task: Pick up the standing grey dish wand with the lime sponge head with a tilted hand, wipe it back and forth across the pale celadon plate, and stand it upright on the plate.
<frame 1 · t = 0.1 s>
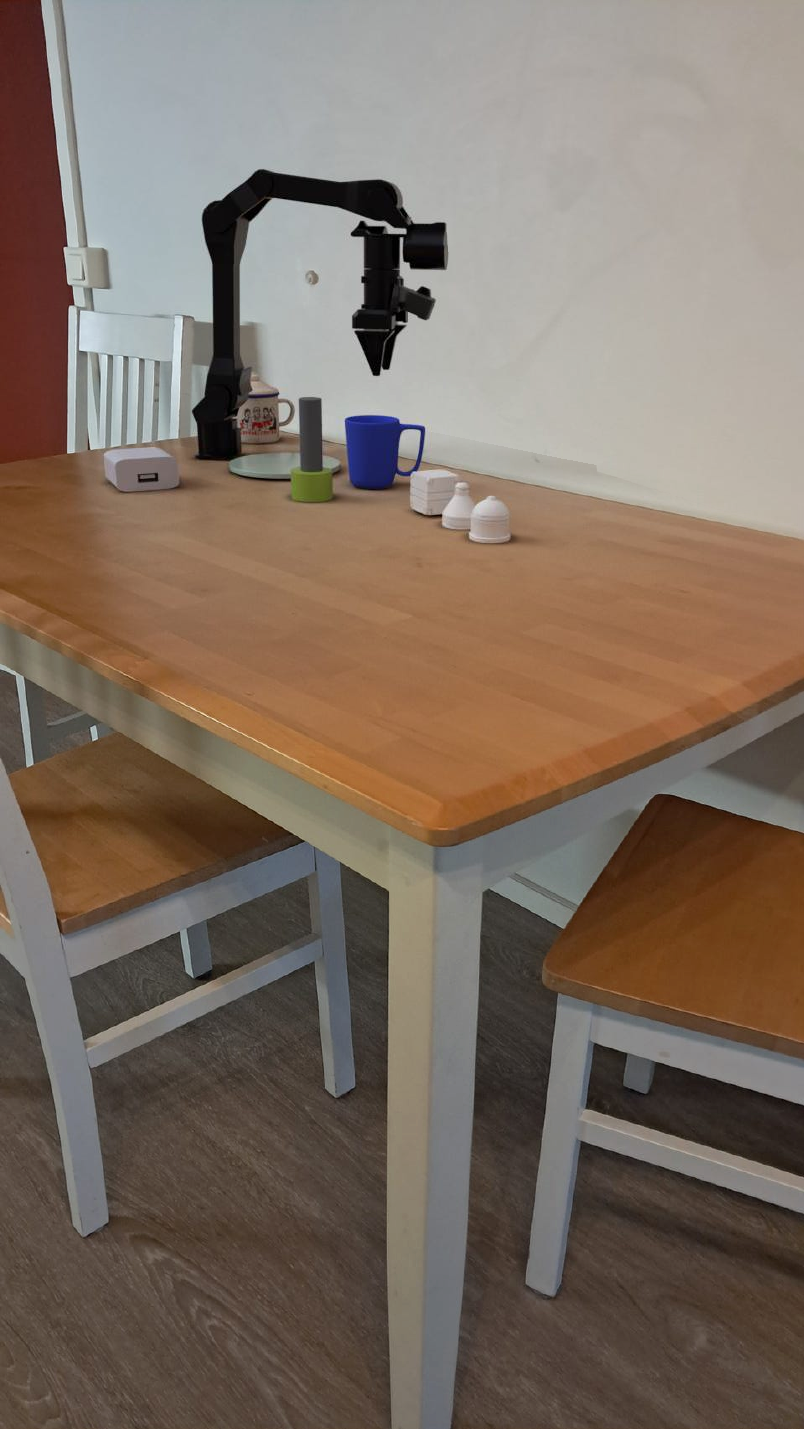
hand: (381, 372, 174), 15 cm above the table, tool pointing down, fingers open, 9 cm apart
container set: (460, 526, 141), on the table
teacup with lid: (264, 440, 200), on the table
plate: (284, 470, 174), on the table
sponge wand: (312, 497, 155), on the table
mug: (384, 487, 163), on the table
charger: (138, 482, 165), on the table
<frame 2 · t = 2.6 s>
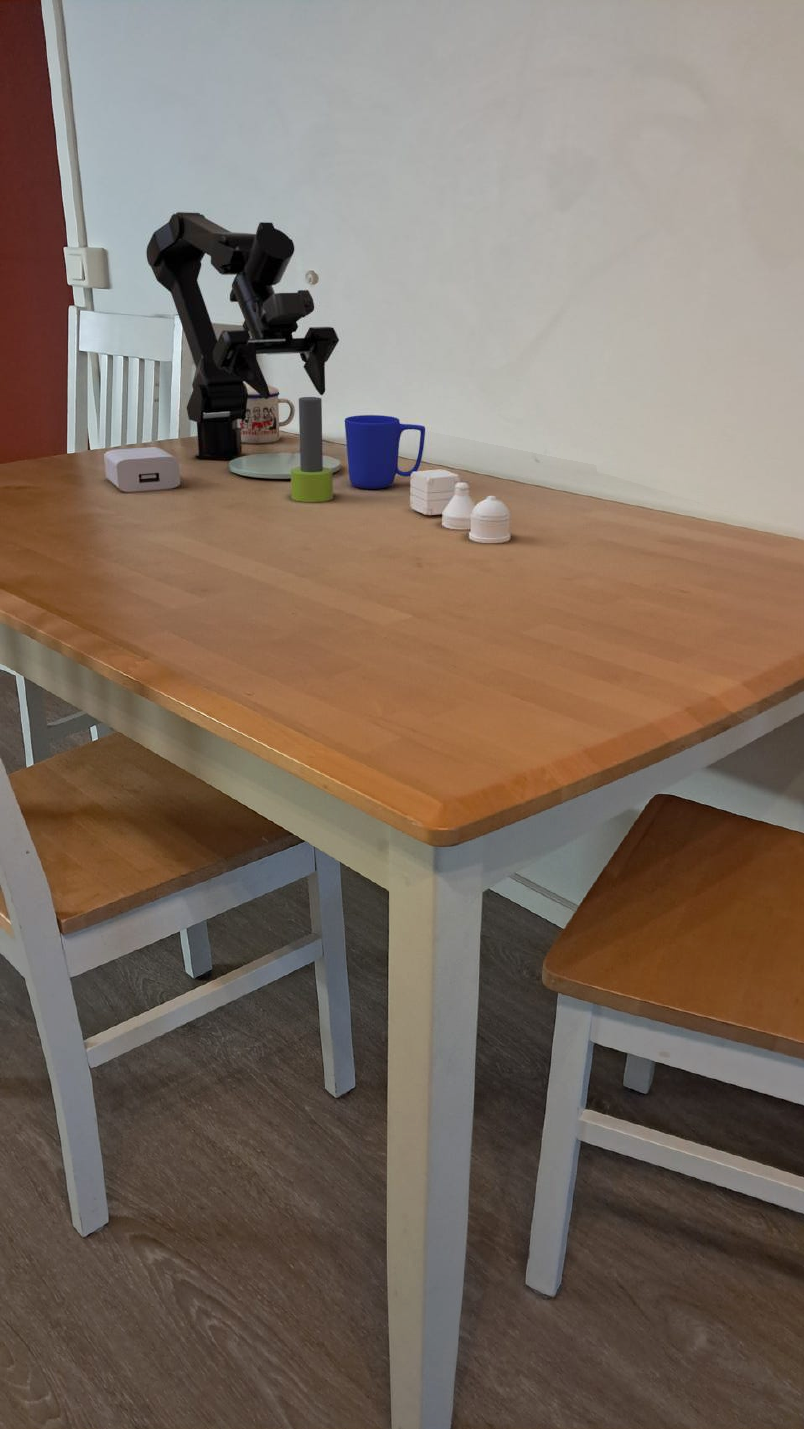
hand: (295, 395, 157), 13 cm above the table, tool tilted 40°, fingers open, 9 cm apart
nothing on the table moved.
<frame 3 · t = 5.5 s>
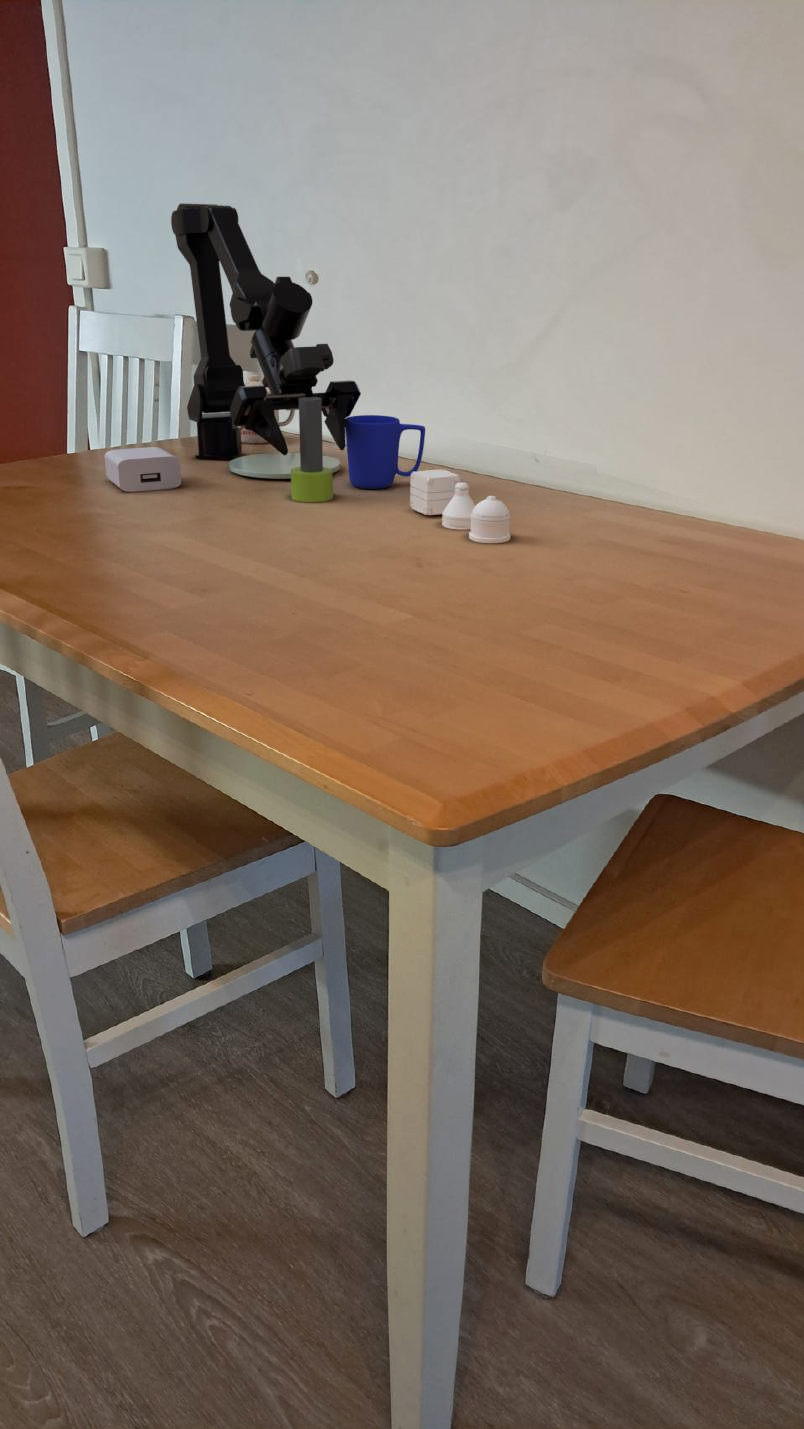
hand: (315, 450, 151), 7 cm above the table, tool tilted 45°, fingers open, 9 cm apart
mug: (384, 487, 163), on the table, touching gripper
everything else where it was.
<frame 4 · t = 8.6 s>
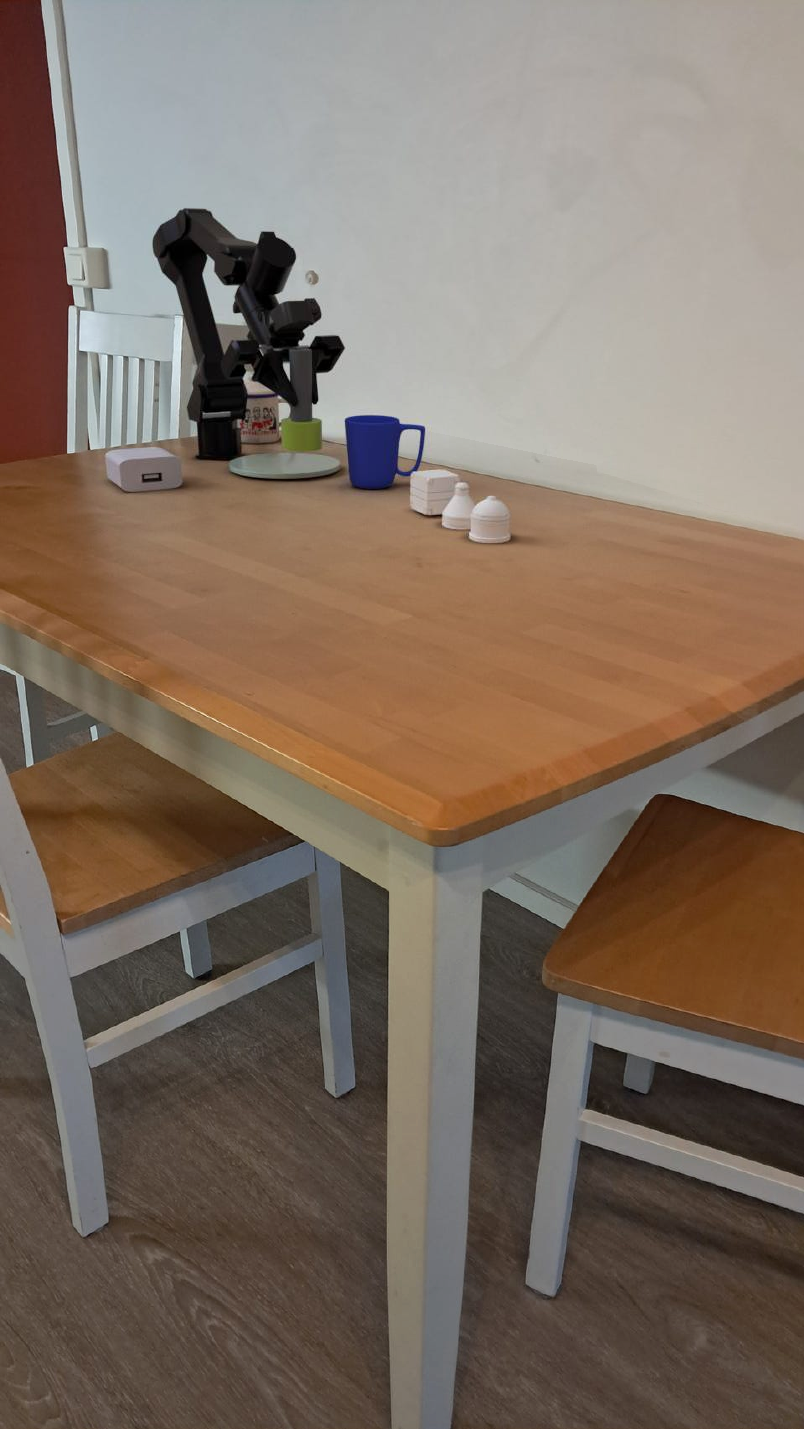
hand: (306, 403, 156), 12 cm above the table, tool tilted 45°, fingers closed on sponge wand, 3 cm apart
sponge wand: (301, 447, 159), point 6 cm above the table, touching gripper
mug: (384, 487, 163), on the table
everything else where it was.
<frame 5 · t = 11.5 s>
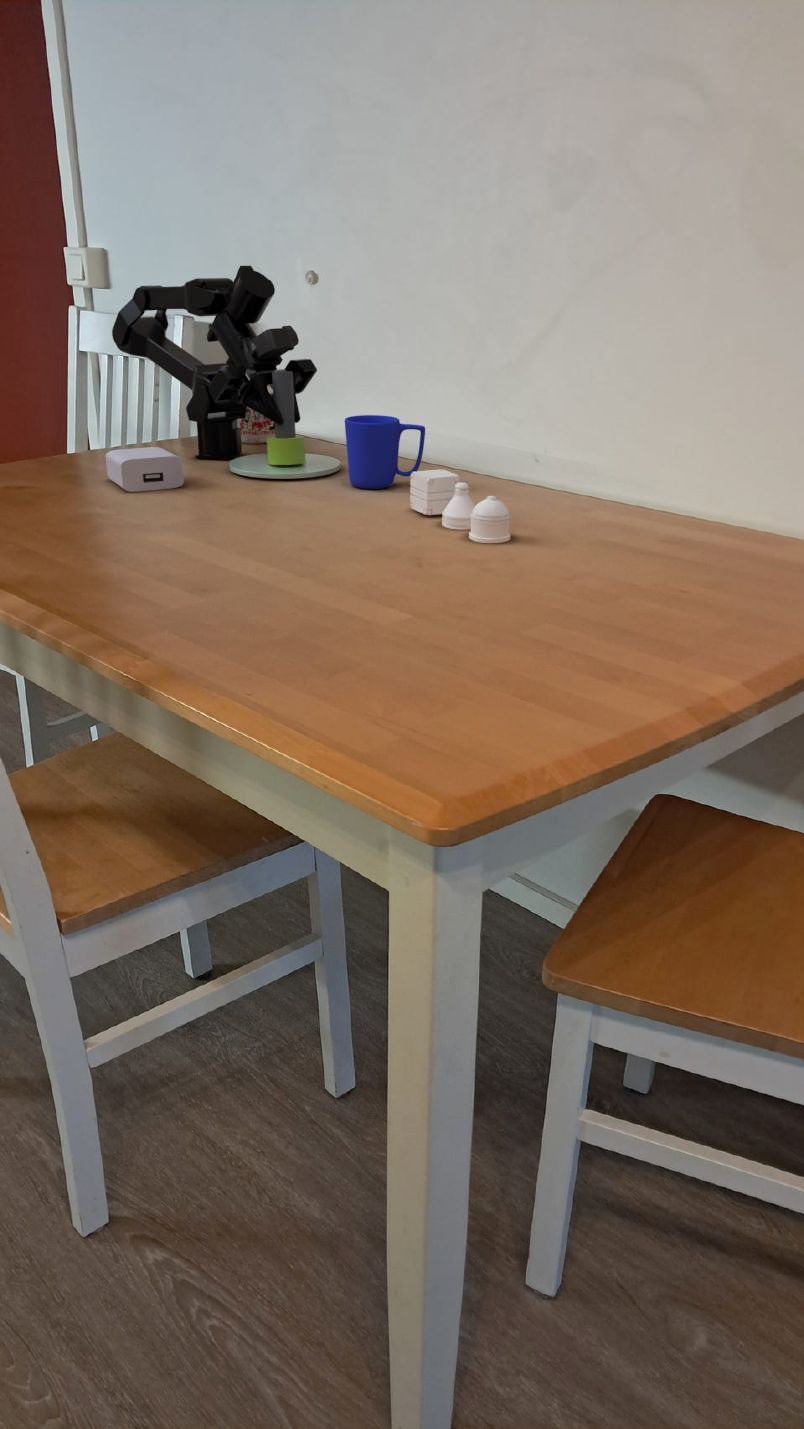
hand: (290, 422, 168), 8 cm above the table, tool tilted 45°, fingers closed on sponge wand, 3 cm apart
plate: (284, 470, 174), on the table, touching sponge wand
sponge wand: (287, 462, 171), point 1 cm above the table, tilted 5°, touching gripper, plate
everything else where it was.
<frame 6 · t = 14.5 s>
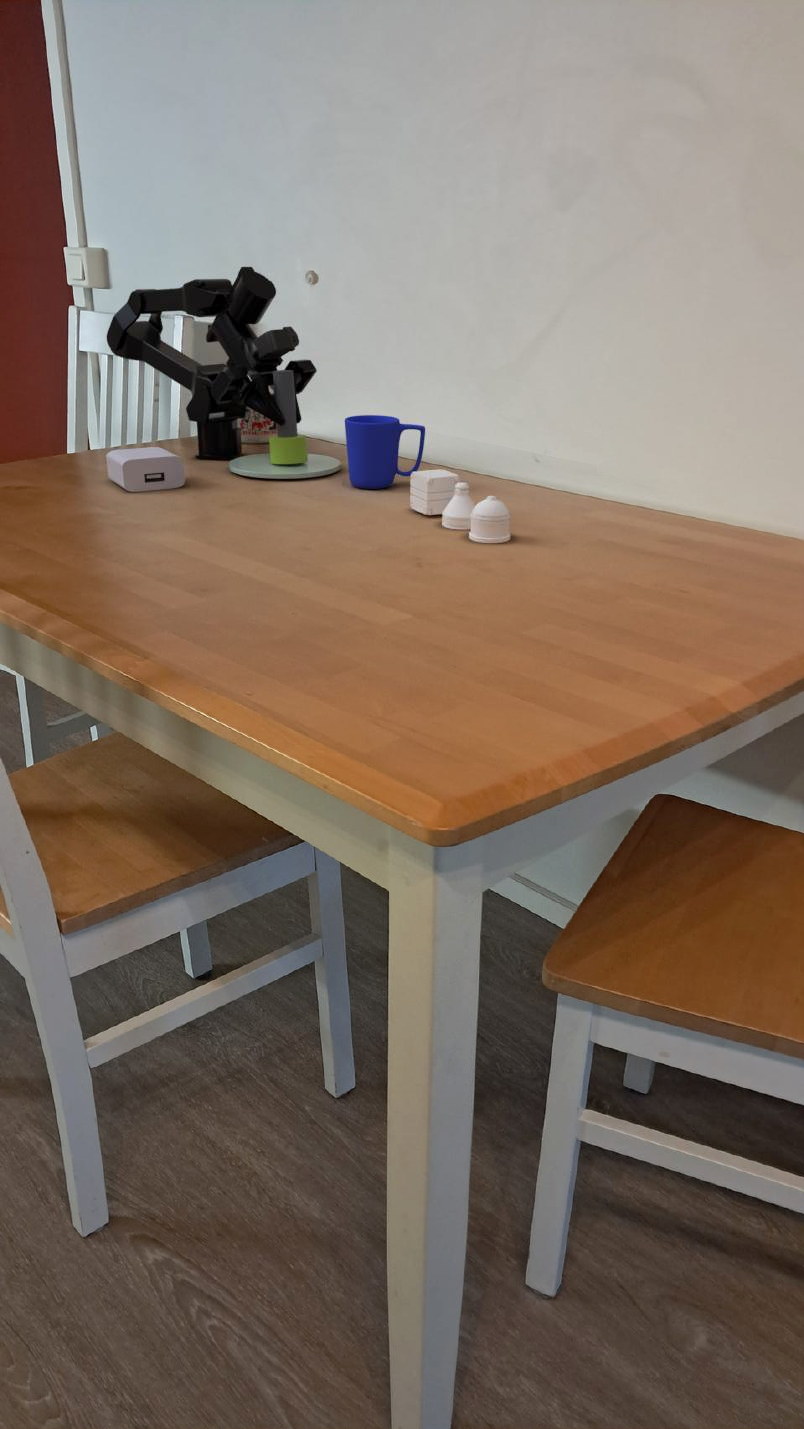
hand: (291, 422, 169), 8 cm above the table, tool tilted 45°, fingers closed on sponge wand, 3 cm apart
plate: (284, 470, 174), on the table
sponge wand: (289, 461, 172), point 2 cm above the table, touching gripper
everything else where it was.
when the fingers open (8 cm above the table, at t = 16.9 s): sponge wand stays where it is, resting on plate.
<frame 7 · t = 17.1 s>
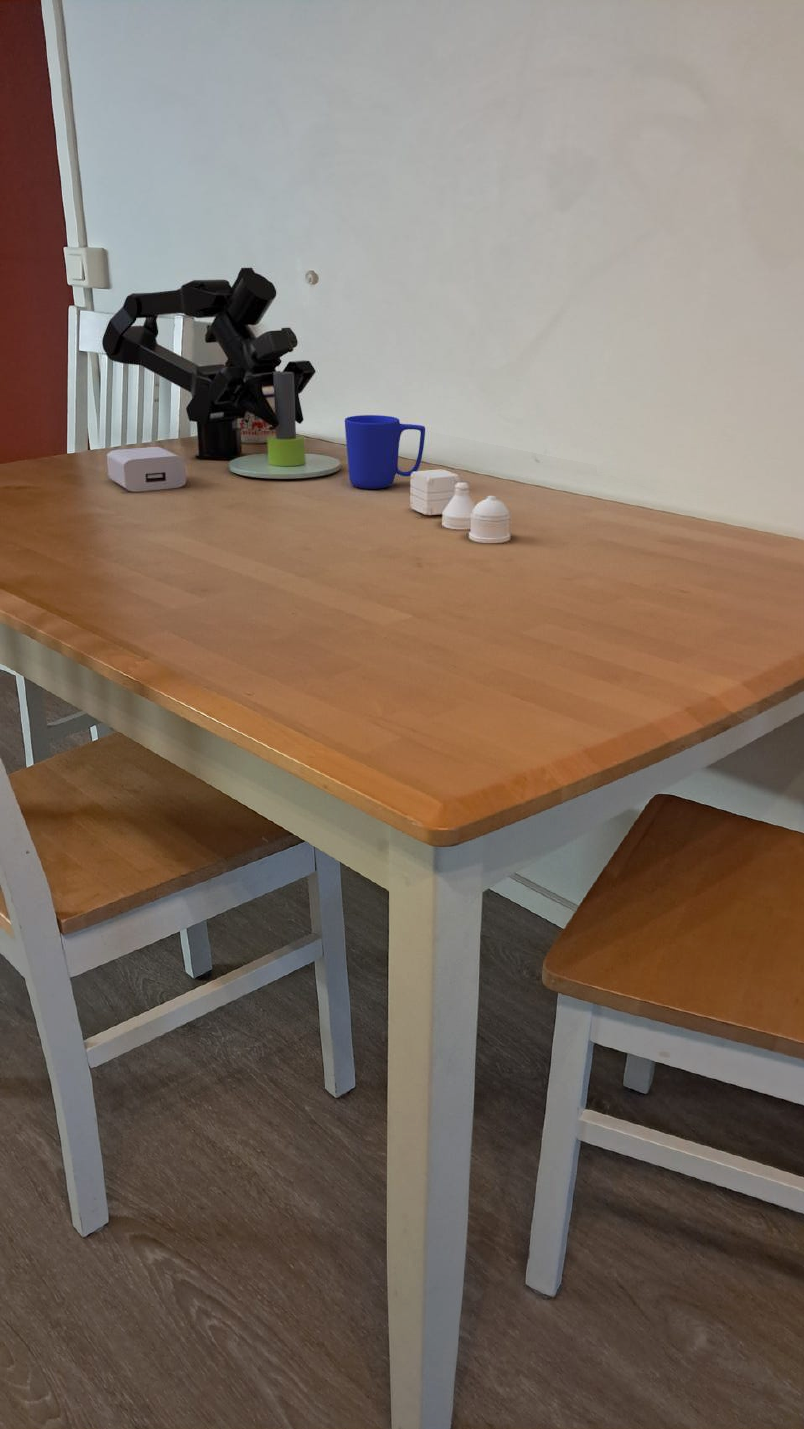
hand: (289, 423, 170), 8 cm above the table, tool tilted 45°, fingers open, 5 cm apart
plate: (285, 470, 174), on the table, touching sponge wand
sponge wand: (287, 462, 173), point 1 cm above the table, touching plate
everything else where it was.
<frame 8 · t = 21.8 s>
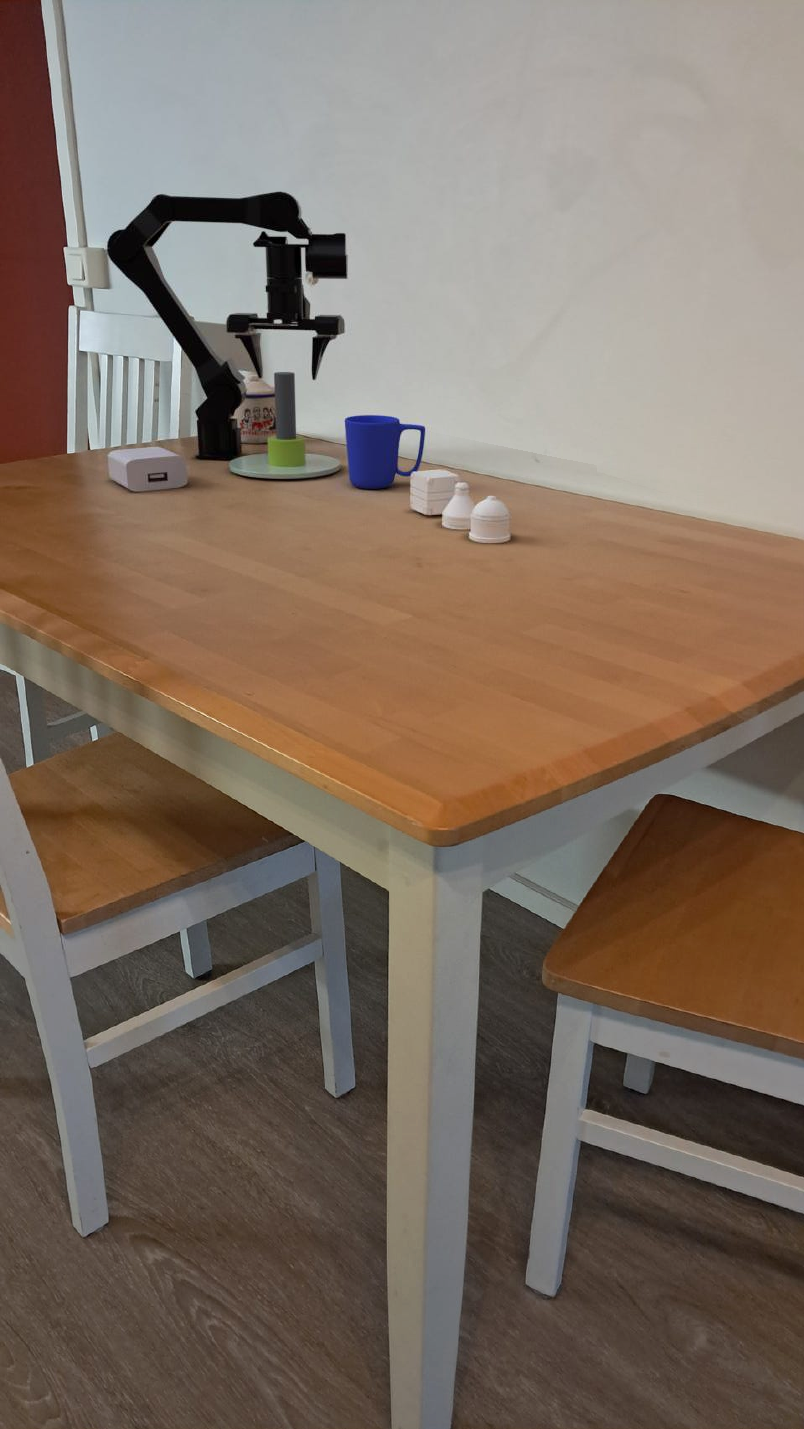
hand: (287, 378, 178), 13 cm above the table, tool pointing down, fingers open, 9 cm apart
nothing on the table moved.
at the end: sponge wand inside the target area on the plate (0.6 cm from its centre), point 1.2 cm above the plate's base; sponge wand tilted 0°; plate moved 0.0 cm from its start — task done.
